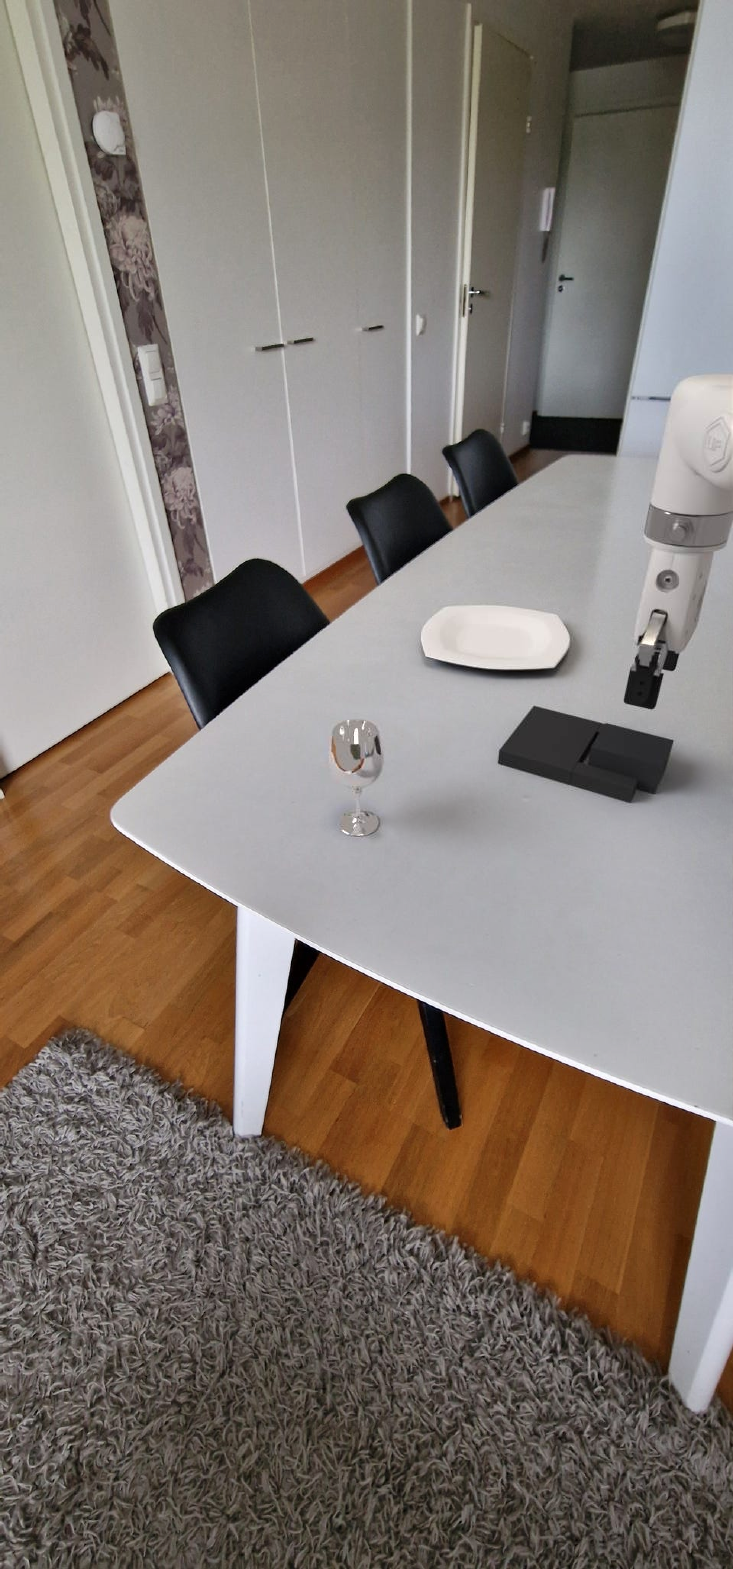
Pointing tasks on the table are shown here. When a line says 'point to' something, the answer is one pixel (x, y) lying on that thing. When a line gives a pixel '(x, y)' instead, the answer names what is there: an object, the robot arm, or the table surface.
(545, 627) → the plate
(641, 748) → the black rectangular block
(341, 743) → the wineglass
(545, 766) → the socket pad
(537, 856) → the table surface
